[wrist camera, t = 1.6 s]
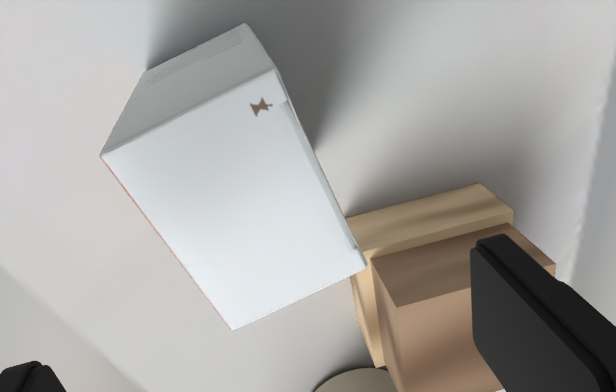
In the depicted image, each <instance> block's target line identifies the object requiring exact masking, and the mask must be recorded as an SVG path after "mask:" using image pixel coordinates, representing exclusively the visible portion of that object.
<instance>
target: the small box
mask: <svg viewBox="0 0 616 392" xmlns="http://www.w3.org/2000/svg"><path fill="white" fill-rule="evenodd" d="M100 158H101V159H102V161H103V162H104V163H105V164H106V166H107V167H108V168H109V170H110V171H111V172H112V174H113V175H114V176H115V178H116V179H117V180H118V182H119V183H120V184H121V186H122V187H123V189H124V190H125V191H126V192H127V194H128V195H129V196H130V198H131V199H132V200H133V202H134V203H135V204H136V205H137V207H138V208H139V209H140V211H141V212H142V213H143V215H144V216H145V217H146V219H147V220H148V221H149V223H150V224H151V225H152V227H153V228H154V229H155V231H156V232H157V233H158V235H159V236H160V237H161V238H162V240H163V241H164V242H165V244H166V245H167V246H168V248H169V249H170V250H171V252H172V253H173V254H174V256H175V257H176V258H177V259H178V261H179V262H180V264H181V265H182V266H183V268H184V269H185V270H186V271H187V273H188V274H189V276H190V277H191V278H192V280H193V281H194V282H195V283H196V285H197V286H198V287H199V289H200V290H201V291H202V293H203V294H204V295H205V297H206V298H207V299H208V301H209V302H210V304H211V305H212V306H213V308H214V309H215V310H216V312H217V313H218V314H219V316H220V317H221V318H222V319H223V321H224V322H225V323H226V325H227V326H228V328H229V329H230V330H235V329H237V328H239V327H242V326H244V325H246V324H249V323H251V322H253V321H255V320H257V319H260V318H262V317H264V316H266V315H268V314H270V313H272V312H274V311H276V310H279V309H281V308H283V307H285V306H287V305H289V304H292V303H294V302H296V301H298V300H300V299H302V298H304V297H306V296H308V295H311V294H313V293H315V292H317V291H319V290H321V289H323V288H325V287H328V286H330V285H332V284H334V283H336V282H338V281H340V280H342V279H345V278H347V277H349V276H351V275H353V274H355V273H358V272H360V271H362V270H364V269H365V268H366V267H367V265H368V263H367V260H366V258H365V256H364V255H363V253H362V251H361V249H360V247H359V245H358V243H357V241H356V239H355V237H354V235H353V233H352V231H351V229H350V227H349V225H348V223H347V221H346V219H345V217H344V215H343V213H342V211H341V208H340V206H339V204H338V202H337V200H336V198H335V196H334V194H333V191H332V189H331V187H330V185H329V183H328V181H327V179H326V176H325V174H324V172H323V170H322V168H321V166H320V164H319V161H318V159H317V157H316V155H315V153H314V151H313V149H312V146H311V144H310V142H309V140H308V138H307V136H306V133H305V131H304V129H303V127H302V125H301V123H300V120H299V118H298V116H297V114H296V111H295V109H294V107H293V104H292V102H291V99H290V97H289V95H288V92H287V90H286V87H285V85H284V83H283V80H282V78H281V75H280V72H279V70H278V68H277V67H276V66H275V64H274V63H273V61H272V60H271V58H270V57H269V55H268V54H267V52H266V51H265V49H264V47H263V46H262V44H261V43H260V41H259V39H258V38H257V37H256V35H255V34H254V32H253V31H252V29H251V28H250V27H249V25H248V24H247V23H243V24H241V25H239V26H237V27H235V28H233V29H231V30H229V31H227V32H225V33H223V34H221V35H219V36H217V37H215V38H213V39H211V40H209V41H206V42H204V43H202V44H200V45H198V46H196V47H194V48H192V49H190V50H188V51H186V52H184V53H182V54H180V55H178V56H176V57H174V58H172V59H170V60H168V61H166V62H164V63H162V64H160V65H158V66H156V67H154V68H152V69H150V70H148V71H146V72H144V73H143V74H142V77H141V78H140V80H139V82H138V84H137V86H136V87H135V89H134V91H133V93H132V95H131V97H130V99H129V100H128V102H127V104H126V106H125V108H124V110H123V112H122V114H121V115H120V117H119V119H118V121H117V123H116V124H115V126H114V128H113V130H112V132H111V134H110V136H109V138H108V140H107V142H106V144H105V145H104V147H103V149H102V151H101V154H100Z"/></svg>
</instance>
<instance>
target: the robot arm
mask: <svg viewBox="0 0 616 392" xmlns="http://www.w3.org/2000/svg"><path fill="white" fill-rule="evenodd" d="M470 276H471V306H472V334H473V340H474V343H475V346H476V348H477V350H478V351H479V353H480V354H481V356H482V357H483V359H484V360H485V362H486V363H487V365H488V366H489V367H490V369H491V370H492V372H493V373H494V375H495V376H496V377H497V379H498V380H499V382H500V383H501V385H502V386H503V388H504V389H505V390H506V392H616V327H615V326H614V325H613V324H612V323H611V322H610V321H608V320H607V319H606V318H605V317H604V316H603V315H602V314H600V313H599V312H598V311H597V310H596V309H595V308H594V307H593V306H591V305H590V304H589V303H588V302H587V301H586V300H584V299H583V298H582V297H581V296H580V295H579V294H578V293H577V292H575V291H574V290H573V289H572V288H571V287H570V286H568V285H567V284H565V283H564V282H561V281H558V280H557V279H555V278H554V277H553V276H552V275H551V274H550V273H549V272H548V271H547V270H545V269H544V268H543V267H542V266H541V265H540V264H539V263H538V262H536V261H535V260H534V259H533V258H532V257H531V256H530V255H529V254H528V253H526V252H525V251H524V250H523V249H522V248H521V247H520V246H519V245H517V244H516V243H515V242H514V241H513V240H512V239H511V238H510V237H509V236H507V235H506V234H504V233H500V234H497V235H493V236H489V237H486V238H482V239H479V240H477V242H476V247H474V248H471V250H470ZM0 392H66V390H65V389H64V387H63V386H62V384H61V383H60V381H59V380H58V378H57V377H56V375H55V373H54V372H53V370H52V369H51V368H50V367H49V366H48V365H44V366H43V365H42V364H41V363H40V362H38V361H31V362H27V363H24V364H20V365H16V366H13V367H9V368H6V369H5V370H3V371H2V373H1V374H0Z"/></svg>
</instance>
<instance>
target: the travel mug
mask: <svg viewBox="0 0 616 392" xmlns="http://www.w3.org/2000/svg"><path fill="white" fill-rule="evenodd" d="M315 392H397V389H396V387H395V385H394V383H393V380H392V378H391V376H390V373H389V371H386V370H382V369H377V368H360V369H355V370H350V371H347V372H344V373H341V374H339V375H337V376H335V377H333V378H331V379H329V380H328V381H326V382H325V383H324V384H322V385H321V386H320V387H319V388H318V389H317V390H316V391H315Z"/></svg>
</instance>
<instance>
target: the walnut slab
mask: <svg viewBox="0 0 616 392" xmlns="http://www.w3.org/2000/svg"><path fill="white" fill-rule="evenodd" d="M500 233H504V234H506V235H507V236H509V237H510V238H511V239H512V240H513V241H514V242H515V243H516V244H517V245H519V246H520V247H521V248H522V249H523V250H524V251H525V252H526V253H528V254H529V255H530V256H531V257H532V258H533V259H534V260H535V261H536V262H538V263H539V264H540V265H541V266H542V267H543V268H544V269H545V270H547V271H548V272H549V273H550V274H551V275H552V276H553V277H554V278H555V269H556V263H555V262H553V261H552V260H551V259H550V258H549V257H548V256H546V255H545V254H544V253H543V252H542V251H541V250H539V249H538V248H537V247H536V246H535V245H534V244H533V243H531V242H530V241H529V240H528V239H527V238H526V237H524V236H523V235H522V234H521V233H520V232H519V231H518V230H516V229H515V228H514V227H513V226H512V225H511V224H509V223H508V222H507V223H504V224H500V225H496V226H492V227H489V228H485V229H481V230H477V231H474V232H470V233H466V234H462V235H459V236H455V237H451V238H447V239H443V240H440V241H436V242H432V243H428V244H425V245H421V246H417V247H413V248H410V249H406V250H402V251H398V252H394V253H391V254H387V255H383V256H379V257H376V258H372V259H370V263H371V270H372V277H373V284H374V291H375V299H376V306H377V313H378V320H379V328H380V335H381V342H382V349H383V356H384V362H385V364H386V367H387V369H388V371H389V373H390V376H391V378H392V380H393V383H394V385H395V387H396V389H397V392H495V391H498V390H501V389H504V388H503V386H502V385H501V383H500V382H499V380H498V379H497V377H496V376H495V375H494V373H493V372H492V370H491V369H490V367H489V366H488V365H487V363H486V362H485V360H484V359H483V357H482V356H481V354H480V353H479V351H478V350H477V348H476V346H475V343H474V340H473V334H472V306H471V276H470V250H471V248H474V247H476V242H477V240H479V239H482V238H486V237H489V236H493V235H497V234H500Z"/></svg>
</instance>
